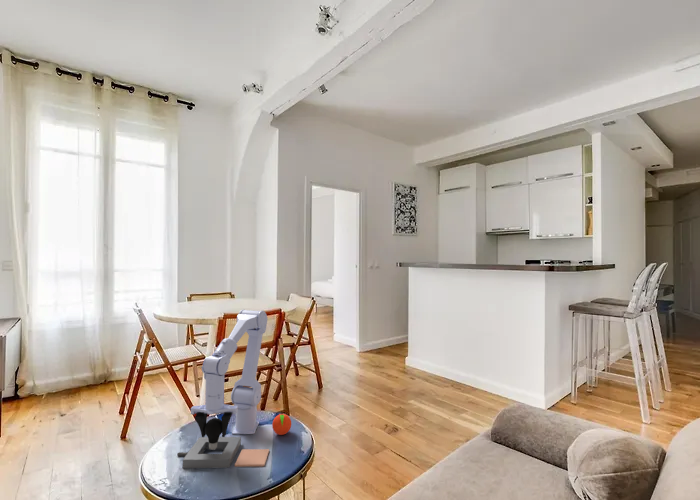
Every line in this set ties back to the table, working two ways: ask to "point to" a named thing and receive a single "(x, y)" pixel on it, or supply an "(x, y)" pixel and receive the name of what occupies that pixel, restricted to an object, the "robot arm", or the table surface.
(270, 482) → the table surface
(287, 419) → the clementine
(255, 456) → the terracotta tile
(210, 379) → the robot arm
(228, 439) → the socket block
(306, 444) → the table surface
